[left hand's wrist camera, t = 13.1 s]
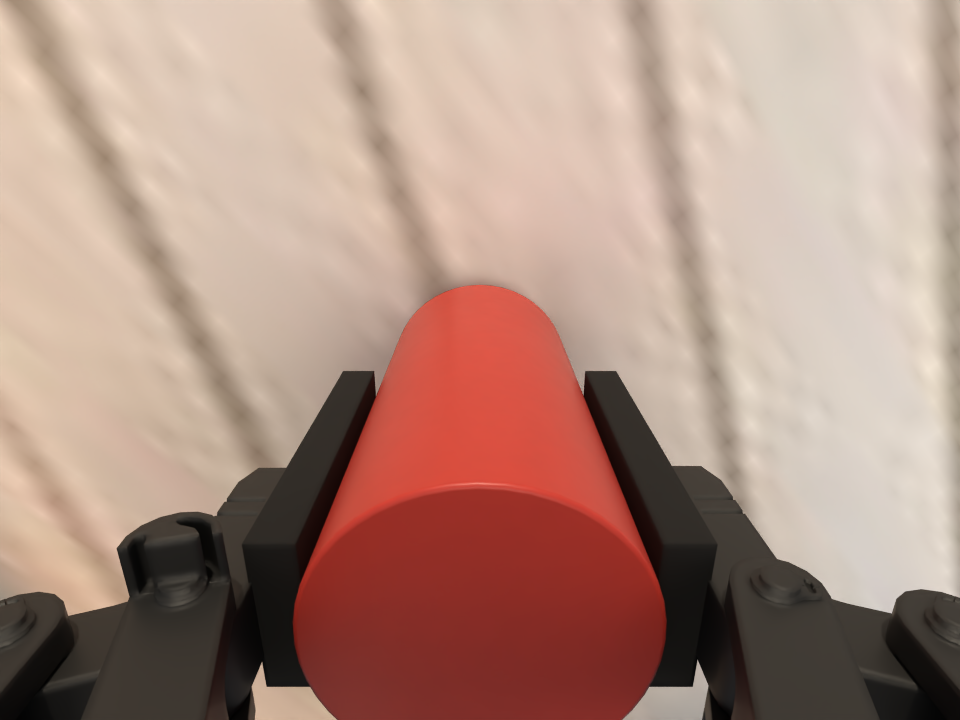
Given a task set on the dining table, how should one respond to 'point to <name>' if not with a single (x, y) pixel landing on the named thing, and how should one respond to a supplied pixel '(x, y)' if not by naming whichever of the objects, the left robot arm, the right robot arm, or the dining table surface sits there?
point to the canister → (479, 538)
